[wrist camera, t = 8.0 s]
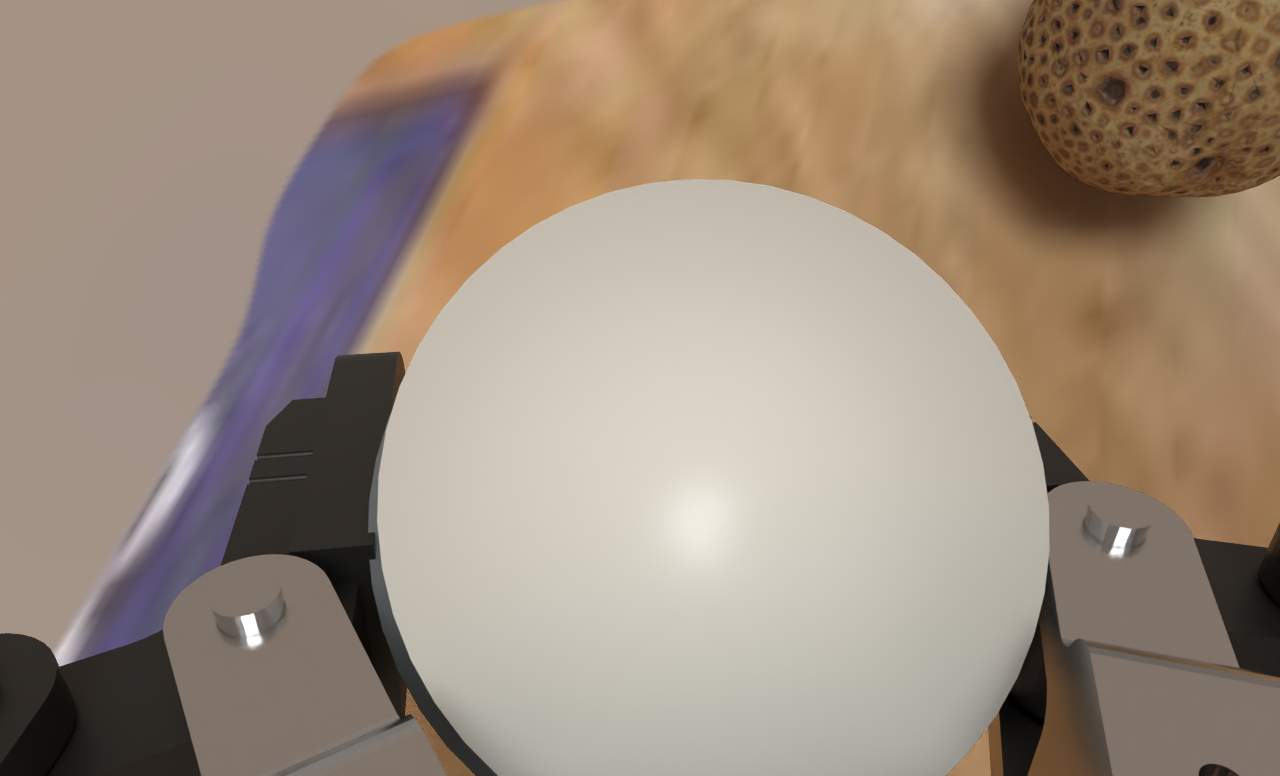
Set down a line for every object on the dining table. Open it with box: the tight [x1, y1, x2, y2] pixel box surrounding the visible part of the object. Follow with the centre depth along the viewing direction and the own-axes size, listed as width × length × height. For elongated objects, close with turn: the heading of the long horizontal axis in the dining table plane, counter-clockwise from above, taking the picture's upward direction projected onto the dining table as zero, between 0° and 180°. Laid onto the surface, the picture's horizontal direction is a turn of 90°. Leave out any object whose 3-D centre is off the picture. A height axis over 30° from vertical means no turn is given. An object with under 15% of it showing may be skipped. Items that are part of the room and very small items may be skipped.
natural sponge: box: [1017, 0, 1280, 197], centre depth 27 cm, size 9×9×10 cm
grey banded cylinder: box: [368, 179, 1049, 776], centre depth 11 cm, size 6×6×9 cm
